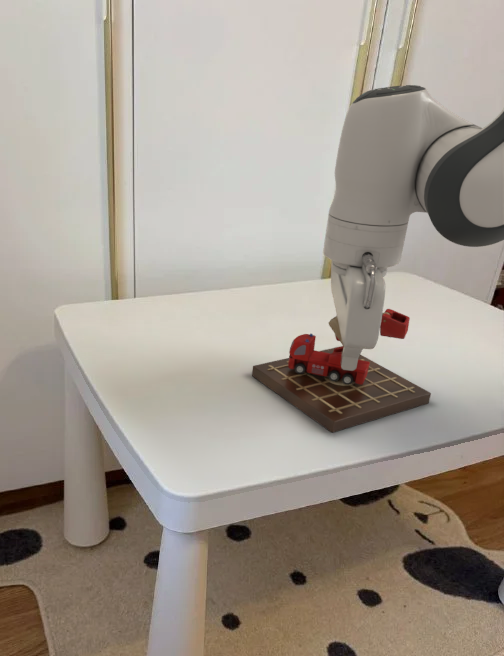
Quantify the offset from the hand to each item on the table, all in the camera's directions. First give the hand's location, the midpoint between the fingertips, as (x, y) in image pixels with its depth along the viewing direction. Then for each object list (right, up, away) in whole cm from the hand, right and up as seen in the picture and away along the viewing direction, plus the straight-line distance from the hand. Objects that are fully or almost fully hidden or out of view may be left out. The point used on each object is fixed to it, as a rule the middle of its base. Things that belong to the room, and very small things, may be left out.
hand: (344, 352), depth 79 cm
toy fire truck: (0, -3, +2) cm, 4 cm away
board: (0, -5, +2) cm, 5 cm away
